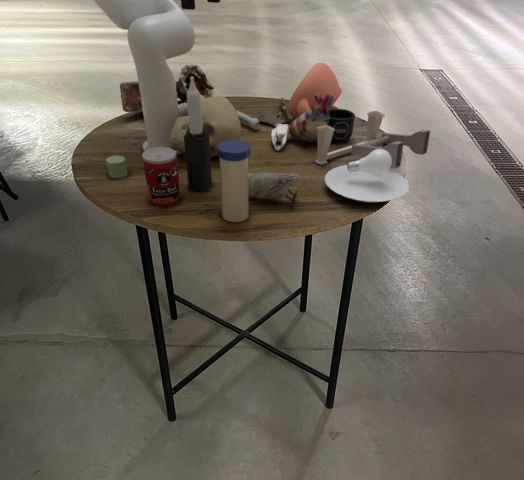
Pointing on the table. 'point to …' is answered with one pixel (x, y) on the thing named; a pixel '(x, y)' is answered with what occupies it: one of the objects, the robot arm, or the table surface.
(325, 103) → the anatomical model
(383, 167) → the lightbulb
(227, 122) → the skull
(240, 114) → the bone
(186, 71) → the bear figurine
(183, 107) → the light bulb
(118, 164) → the stand
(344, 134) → the mug
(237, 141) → the lid
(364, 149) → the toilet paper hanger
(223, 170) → the jar
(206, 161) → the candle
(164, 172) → the canned food
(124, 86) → the decorative box
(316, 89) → the pink curved piece
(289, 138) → the accessory
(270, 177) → the decorative bird
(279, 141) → the bird figurine
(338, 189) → the plate
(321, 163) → the toilet paper hanger
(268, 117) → the pottery fragment
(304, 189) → the table surface
